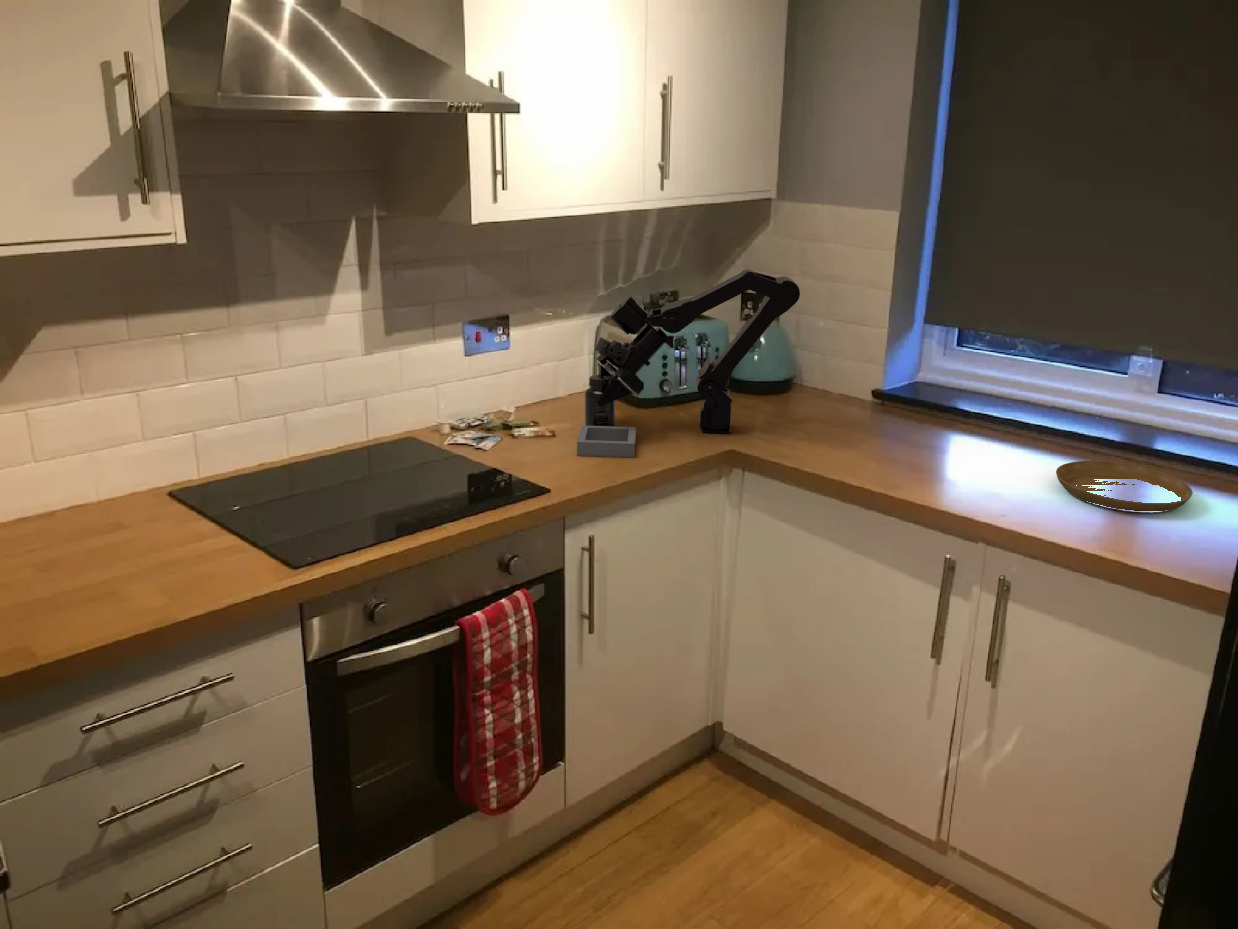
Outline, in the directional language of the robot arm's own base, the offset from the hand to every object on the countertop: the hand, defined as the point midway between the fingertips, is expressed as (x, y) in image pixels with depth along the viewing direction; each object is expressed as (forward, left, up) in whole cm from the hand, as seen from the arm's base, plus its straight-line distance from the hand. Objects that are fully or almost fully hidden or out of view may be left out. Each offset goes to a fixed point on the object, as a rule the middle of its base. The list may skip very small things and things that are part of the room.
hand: (594, 400), depth 234 cm
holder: (-4, +11, -7) cm, 14 cm away
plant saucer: (-105, +30, -8) cm, 109 cm away
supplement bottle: (-1, -1, -7) cm, 7 cm away
